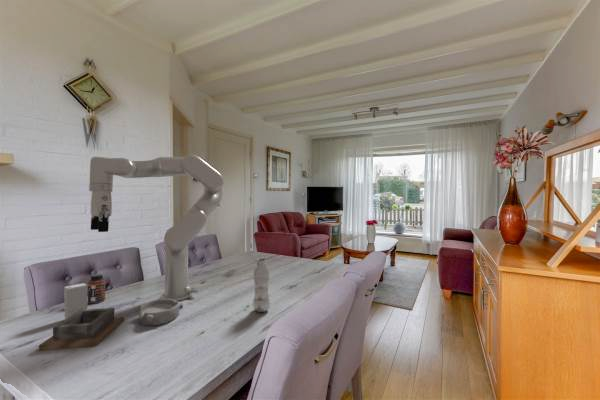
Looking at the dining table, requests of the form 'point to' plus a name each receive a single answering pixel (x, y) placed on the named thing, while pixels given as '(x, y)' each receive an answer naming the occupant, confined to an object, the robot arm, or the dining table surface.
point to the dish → (159, 311)
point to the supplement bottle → (96, 288)
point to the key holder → (83, 329)
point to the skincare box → (75, 299)
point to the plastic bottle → (261, 286)
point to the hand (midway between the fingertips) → (99, 230)
